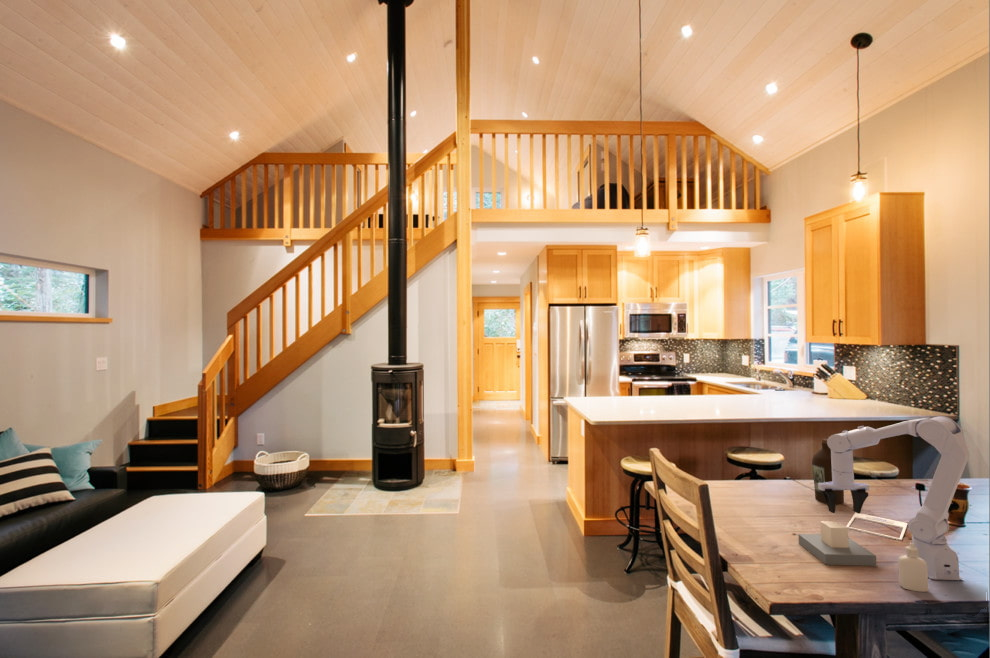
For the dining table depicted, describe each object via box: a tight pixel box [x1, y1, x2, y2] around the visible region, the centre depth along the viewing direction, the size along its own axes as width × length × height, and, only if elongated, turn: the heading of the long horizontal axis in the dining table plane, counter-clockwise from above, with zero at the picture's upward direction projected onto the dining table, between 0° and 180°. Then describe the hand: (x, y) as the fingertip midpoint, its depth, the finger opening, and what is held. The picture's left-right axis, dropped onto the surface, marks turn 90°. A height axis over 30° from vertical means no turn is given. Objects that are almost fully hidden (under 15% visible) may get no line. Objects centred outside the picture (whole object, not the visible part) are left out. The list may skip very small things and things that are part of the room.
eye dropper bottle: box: [897, 542, 929, 593], centre depth 120 cm, size 4×6×12 cm
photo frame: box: [845, 512, 909, 542], centre depth 159 cm, size 15×1×18 cm
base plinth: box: [798, 533, 877, 567], centre depth 140 cm, size 14×14×3 cm
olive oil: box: [811, 438, 845, 506], centre depth 184 cm, size 11×11×25 cm
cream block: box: [819, 520, 849, 548], centre depth 140 cm, size 5×5×6 cm
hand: (844, 512), depth 147 cm, fingers open, 7 cm apart
